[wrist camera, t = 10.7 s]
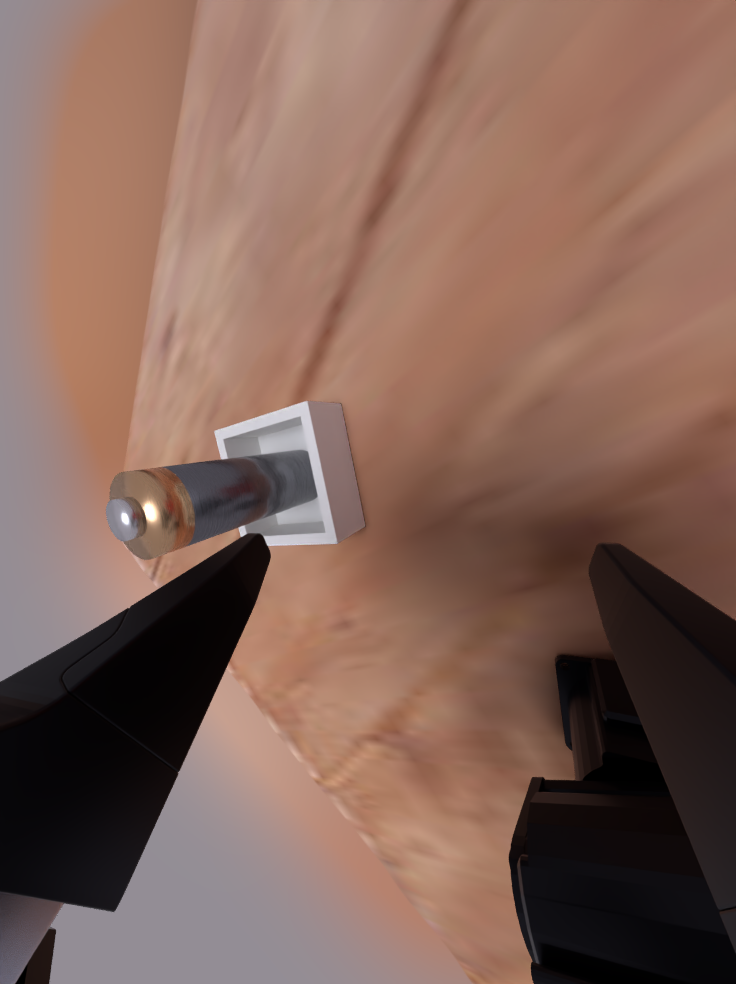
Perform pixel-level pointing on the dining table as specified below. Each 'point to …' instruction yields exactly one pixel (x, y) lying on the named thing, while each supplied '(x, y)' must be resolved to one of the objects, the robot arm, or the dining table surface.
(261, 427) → the bin
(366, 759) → the dining table surface
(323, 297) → the dining table surface
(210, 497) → the battery cell
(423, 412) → the dining table surface
